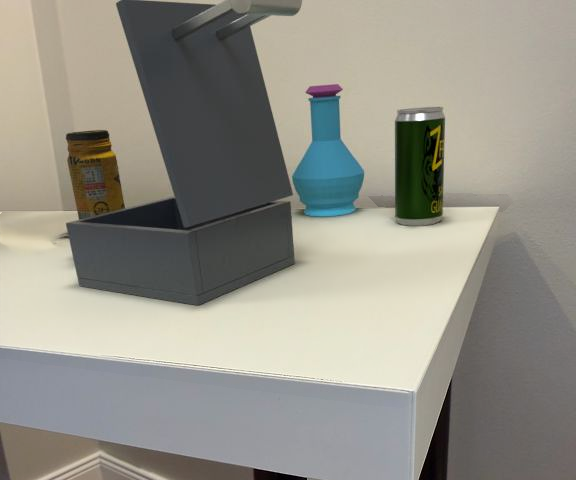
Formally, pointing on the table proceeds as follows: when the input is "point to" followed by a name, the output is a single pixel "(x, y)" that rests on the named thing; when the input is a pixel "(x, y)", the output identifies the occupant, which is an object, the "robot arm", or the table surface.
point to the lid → (209, 101)
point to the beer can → (419, 165)
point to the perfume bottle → (327, 160)
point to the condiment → (93, 173)
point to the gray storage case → (180, 250)
